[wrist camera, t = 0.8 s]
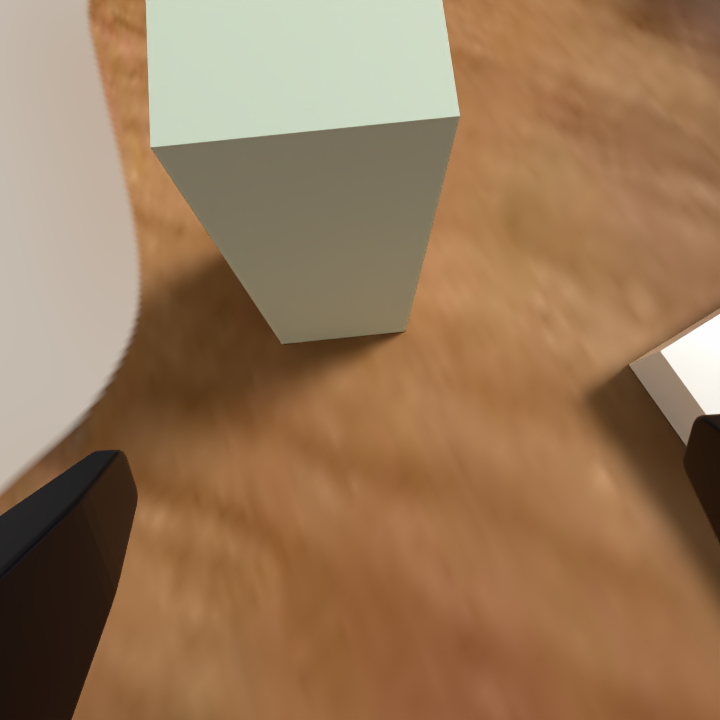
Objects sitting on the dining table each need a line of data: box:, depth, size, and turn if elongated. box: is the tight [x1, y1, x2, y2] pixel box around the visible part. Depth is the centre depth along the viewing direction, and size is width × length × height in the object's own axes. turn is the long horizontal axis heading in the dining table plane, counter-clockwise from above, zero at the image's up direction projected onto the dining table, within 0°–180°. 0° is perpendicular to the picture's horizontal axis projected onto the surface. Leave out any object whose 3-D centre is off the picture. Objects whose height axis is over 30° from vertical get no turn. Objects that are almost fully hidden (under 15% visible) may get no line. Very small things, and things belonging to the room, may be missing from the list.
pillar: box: [146, 0, 460, 344], centre depth 17 cm, size 5×5×14 cm
